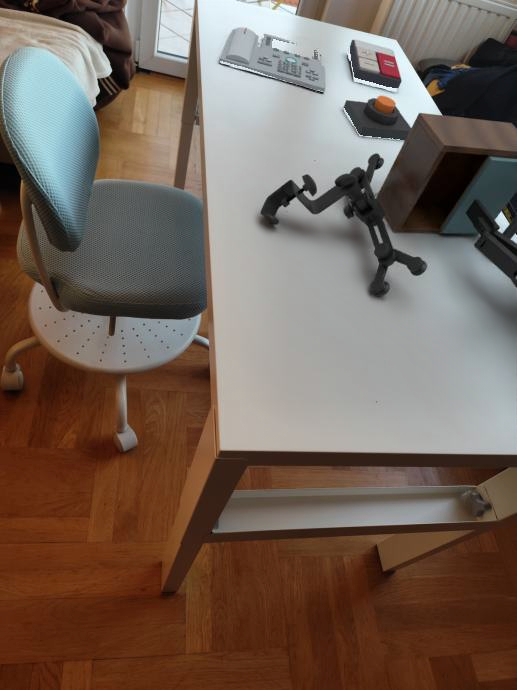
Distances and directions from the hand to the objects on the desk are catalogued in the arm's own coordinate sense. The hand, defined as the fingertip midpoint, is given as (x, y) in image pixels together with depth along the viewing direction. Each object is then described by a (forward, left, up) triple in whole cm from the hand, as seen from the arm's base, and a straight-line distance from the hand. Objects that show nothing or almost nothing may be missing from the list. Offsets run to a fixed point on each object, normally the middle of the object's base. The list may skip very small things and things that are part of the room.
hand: (500, 207), depth 79 cm
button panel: (-5, -59, -8) cm, 60 cm away
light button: (+4, -35, -4) cm, 36 cm away
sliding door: (+2, +2, -6) cm, 7 cm away
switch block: (+4, -35, -7) cm, 37 cm away
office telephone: (+20, -59, -8) cm, 63 cm away
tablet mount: (+28, -2, -8) cm, 29 cm away
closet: (+6, -5, -7) cm, 11 cm away
